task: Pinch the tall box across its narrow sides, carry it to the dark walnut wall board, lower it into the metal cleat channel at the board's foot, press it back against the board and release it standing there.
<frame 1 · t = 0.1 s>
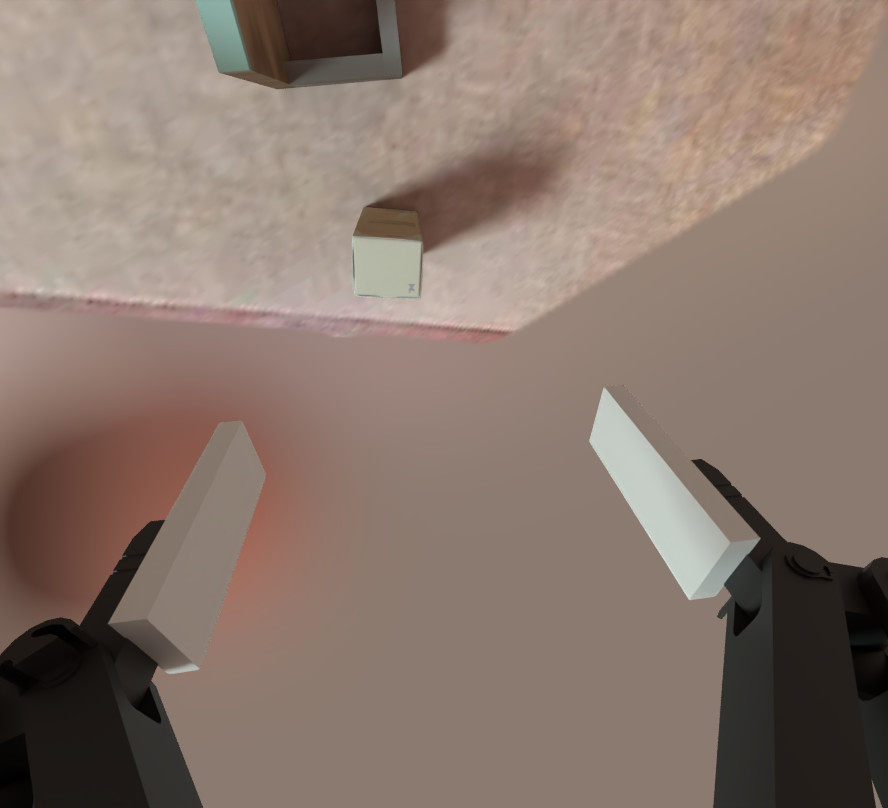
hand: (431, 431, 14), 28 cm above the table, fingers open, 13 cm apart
box: (389, 233, 36), on the table
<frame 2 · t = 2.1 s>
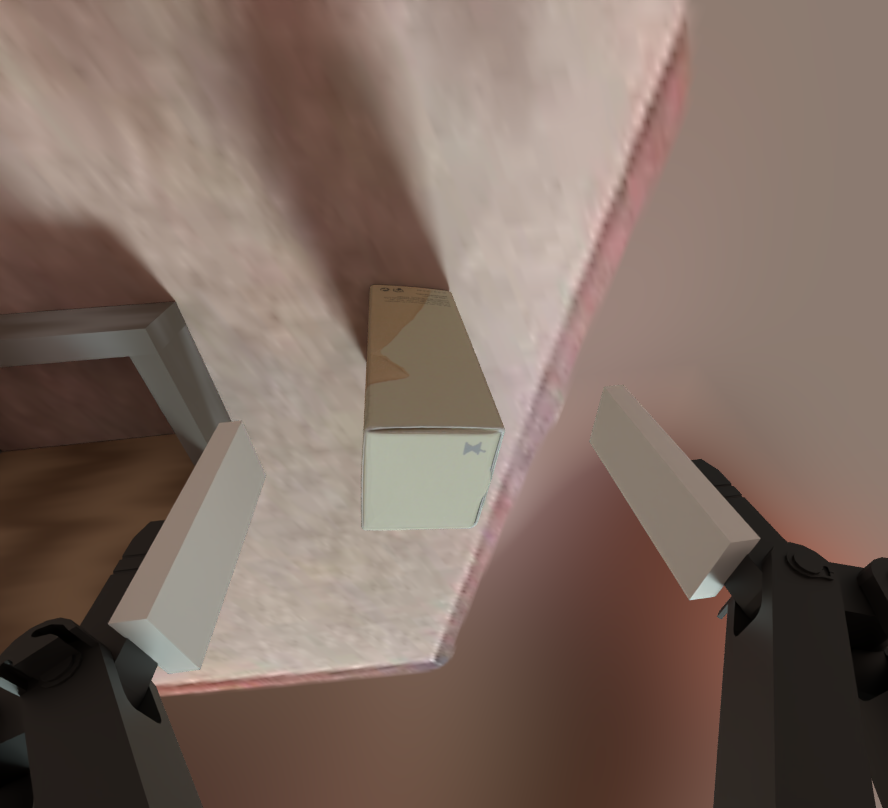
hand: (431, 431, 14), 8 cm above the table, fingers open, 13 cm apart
cleat board: (77, 395, 21), on the table
box: (407, 331, 21), on the table
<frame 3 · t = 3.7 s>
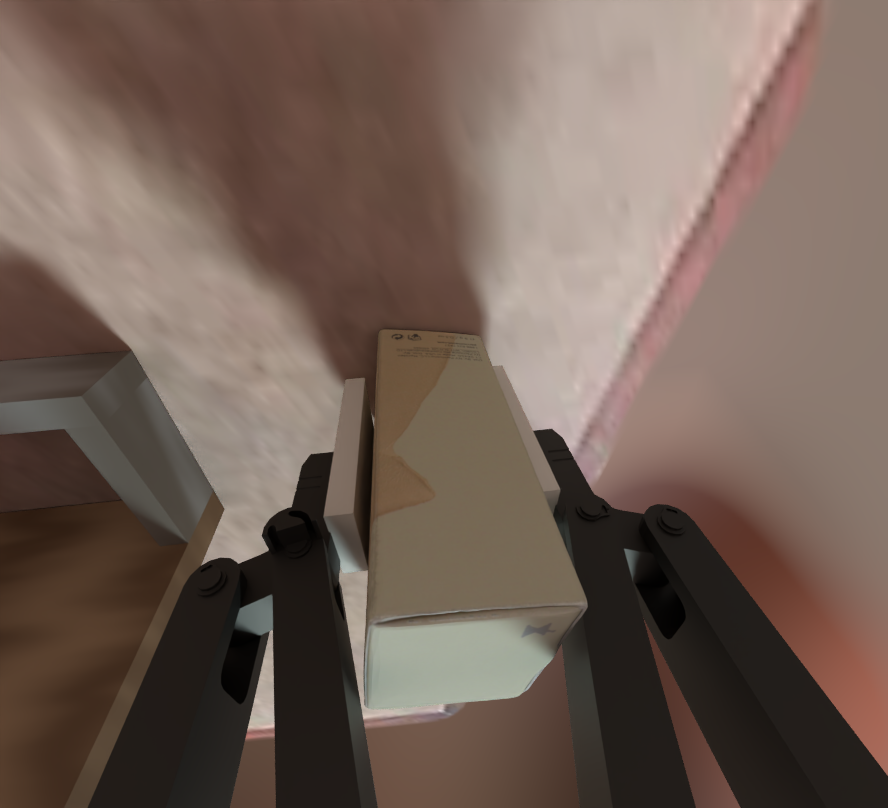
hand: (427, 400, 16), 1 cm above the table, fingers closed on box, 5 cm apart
cleat board: (18, 458, 17), on the table
box: (424, 381, 17), on the table, touching gripper
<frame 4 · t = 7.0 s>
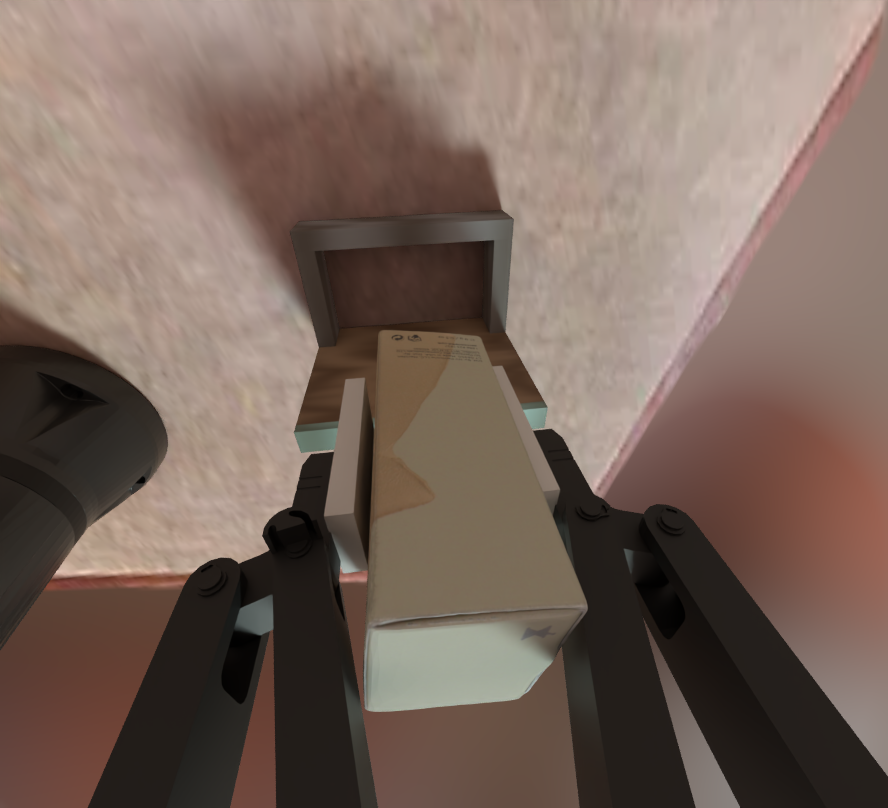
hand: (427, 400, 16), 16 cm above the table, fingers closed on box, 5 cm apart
cleat board: (408, 283, 29), on the table
box: (425, 382, 17), point 15 cm above the table, touching gripper
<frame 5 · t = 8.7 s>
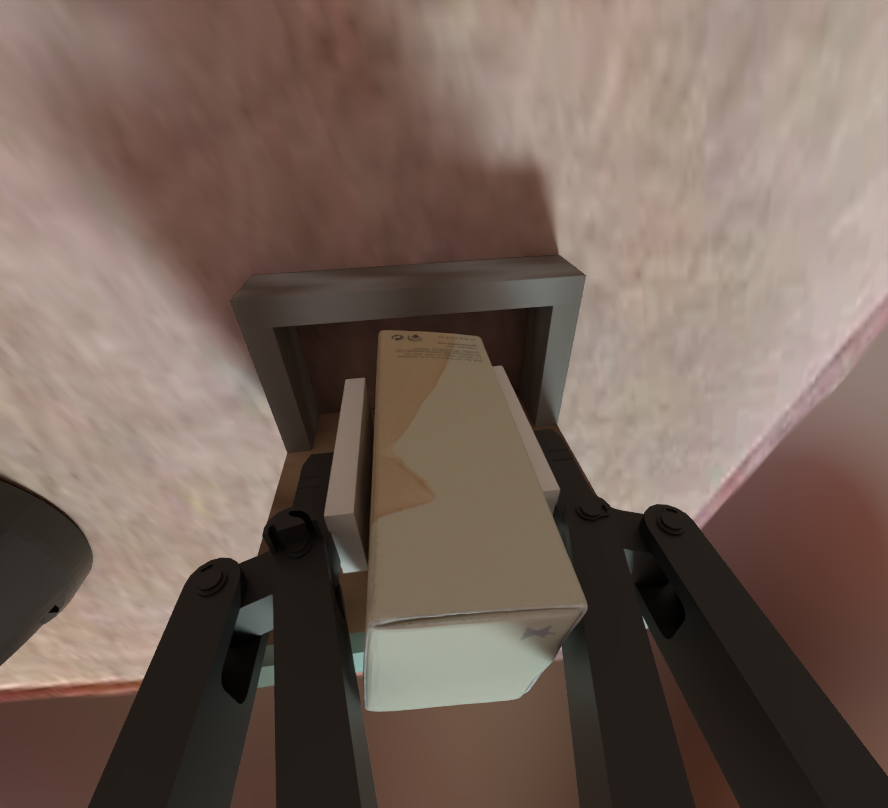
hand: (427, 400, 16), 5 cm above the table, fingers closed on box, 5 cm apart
cleat board: (417, 355, 20), on the table
box: (425, 381, 17), point 4 cm above the table, touching gripper
when the fingers open (4 cm above the table, at t = 10.1 s): box drops 2 cm, resting in cleat board.
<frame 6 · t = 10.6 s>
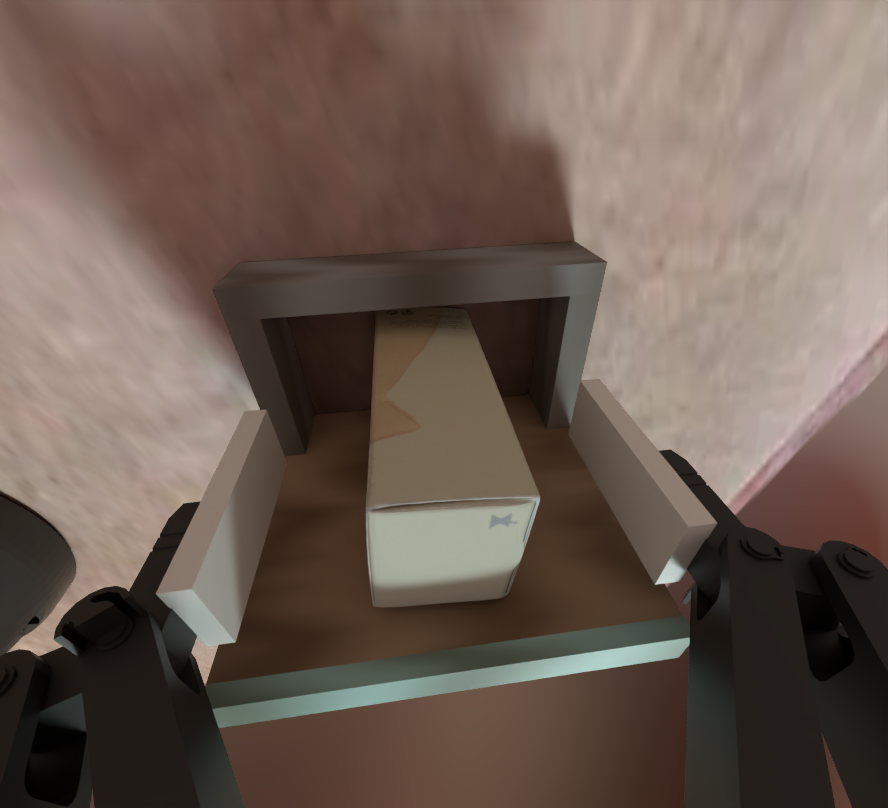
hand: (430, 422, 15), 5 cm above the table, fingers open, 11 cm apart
cleat board: (420, 351, 19), on the table
box: (420, 354, 19), resting in cleat board
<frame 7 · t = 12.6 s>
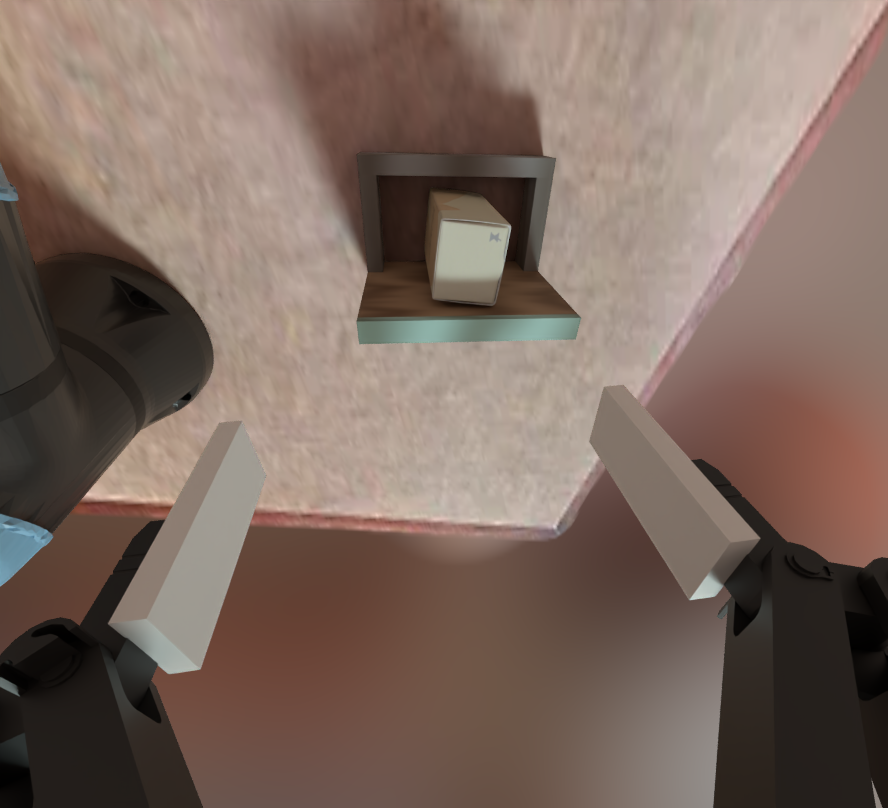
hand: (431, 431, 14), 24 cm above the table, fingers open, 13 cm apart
cleat board: (451, 221, 32), on the table
box: (451, 224, 32), resting in cleat board
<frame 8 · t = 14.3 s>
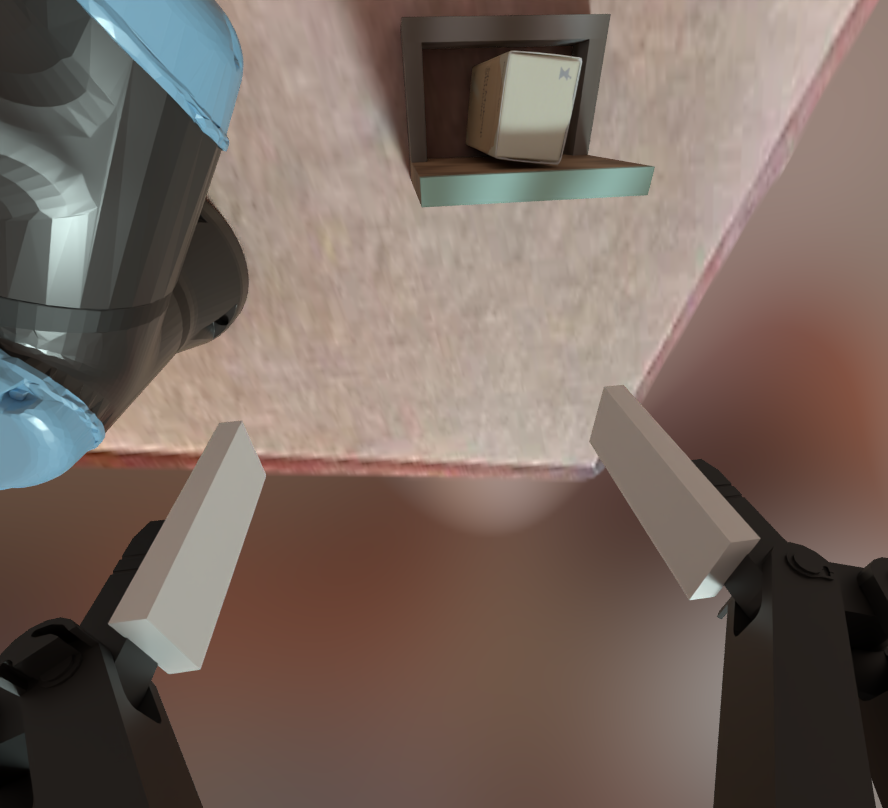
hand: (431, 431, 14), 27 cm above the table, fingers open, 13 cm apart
cleat board: (494, 107, 30), on the table
box: (493, 111, 31), resting in cleat board
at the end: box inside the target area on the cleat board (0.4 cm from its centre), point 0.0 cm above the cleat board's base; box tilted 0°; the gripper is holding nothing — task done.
